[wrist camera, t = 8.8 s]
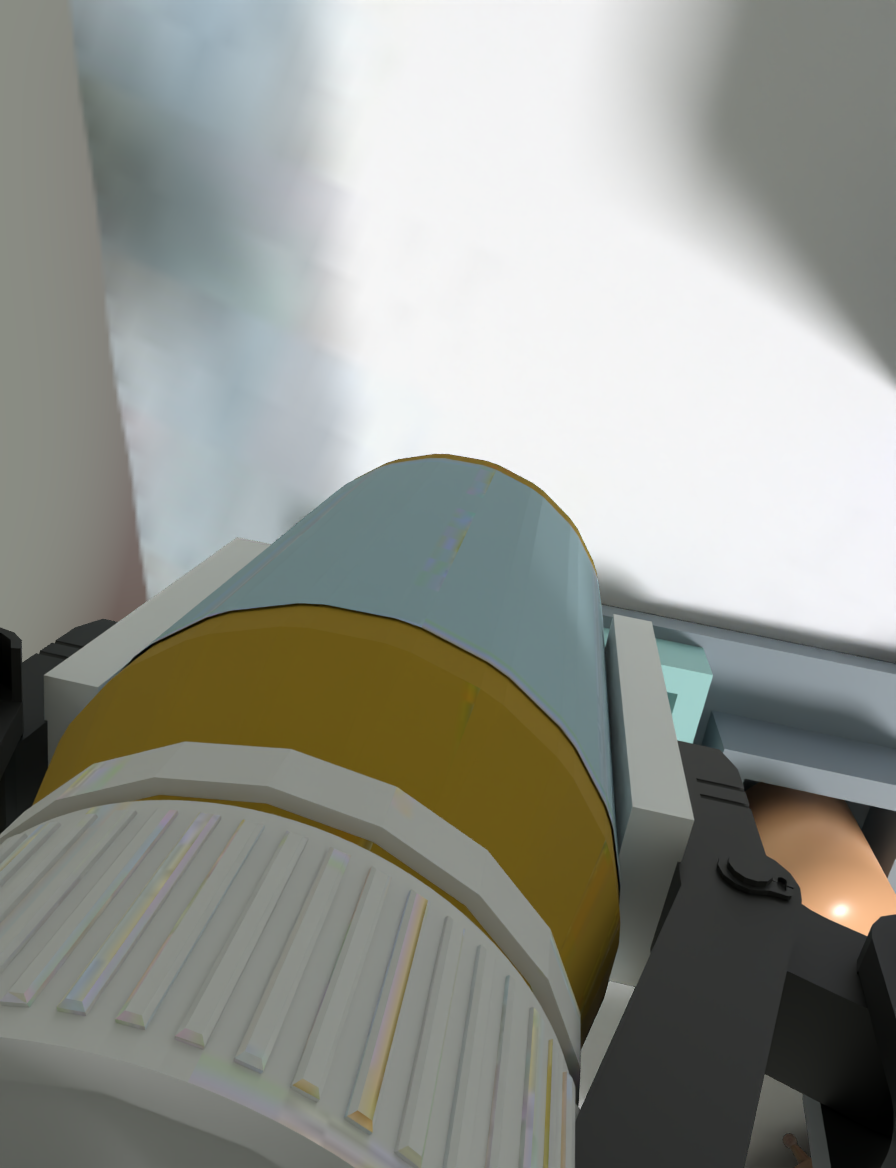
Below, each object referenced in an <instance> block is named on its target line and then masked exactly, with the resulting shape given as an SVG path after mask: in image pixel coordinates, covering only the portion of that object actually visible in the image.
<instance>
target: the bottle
mask: <svg viewBox="0 0 896 1168" xmlns="http://www.w3.org/2000/svg"><path fill="white" fill-rule="evenodd" d="M616 854H617V859H616ZM620 889H621V885H620V870H619V854H618V839H617V824H616V809H615V794H614V779H613V764H612V749H611V734H610V719H609V704H608V689H607V674H606V659H605V644H604V628H603V616H602V607H601V599H600V591H599V583H598V579H597V573H596V569H595V566H594V562H593V560H592V558H591V556H590V554H589V552H588V550H587V548H586V546H585V543H584V541H583V539H582V537H581V535H580V533H579V531H578V529H577V528H576V526H575V525H574V523H573V522H572V520H571V519H570V518H569V517H568V516H567V515H566V514H565V513H564V512H563V511H562V509H561V508H560V507H559V506H558V505H557V504H556V503H555V502H554V501H553V500H552V499H551V498H550V497H549V496H548V495H547V494H546V493H545V492H544V491H543V490H541V489H540V488H539V487H537V486H536V485H535V484H533V483H532V482H530V481H528V480H526V479H524V478H522V477H520V476H518V475H517V474H515V473H513V472H511V471H509V470H507V469H505V468H503V467H501V466H499V465H497V464H494V463H491V462H488V461H484V460H479V459H473V458H467V457H462V456H456V455H450V454H432V455H425V456H418V457H411V458H404V459H398V460H395V461H392V462H388V463H386V464H384V465H382V466H380V467H378V468H376V469H374V470H372V471H370V472H368V473H366V474H364V475H362V476H360V477H358V478H356V479H354V480H353V481H351V482H349V483H347V484H346V485H344V486H343V487H342V488H340V489H339V490H338V491H336V492H335V493H334V494H333V495H331V496H330V497H329V498H328V499H326V500H325V501H324V502H323V503H322V504H320V505H319V506H318V507H317V508H315V509H314V510H313V511H312V512H311V513H309V514H308V515H307V516H306V517H304V518H303V519H302V520H301V521H300V522H298V523H297V524H296V525H295V526H293V527H292V528H291V529H290V530H289V531H287V532H286V533H285V534H284V535H282V536H281V537H280V538H279V539H278V540H276V541H275V542H274V543H273V544H271V545H270V546H269V547H268V548H266V549H265V550H264V551H263V552H262V553H260V554H259V555H258V556H257V557H255V558H254V559H253V560H252V561H251V562H249V563H248V564H247V565H246V566H244V567H243V568H242V569H241V570H240V571H238V572H237V573H236V574H235V575H233V576H232V577H231V578H230V579H229V580H227V581H226V582H225V583H224V584H222V585H221V586H220V587H219V588H218V589H216V590H215V591H214V592H213V593H211V594H210V595H209V596H208V597H206V598H205V599H204V600H203V601H202V602H200V603H199V604H198V605H197V606H195V607H194V608H193V609H192V610H191V611H189V612H188V613H187V614H186V615H184V616H183V617H182V618H181V619H180V620H178V621H177V622H176V623H175V624H173V625H172V626H171V627H170V628H169V629H167V630H166V631H165V632H164V633H162V634H161V635H160V636H159V637H158V638H156V639H155V640H154V641H153V642H151V643H150V644H149V645H148V646H146V647H145V648H144V649H143V650H142V651H140V652H139V653H138V654H137V655H135V656H134V657H133V658H132V659H131V661H130V662H129V663H128V664H127V665H126V666H125V667H124V668H123V669H122V670H121V671H120V672H119V673H118V674H117V675H116V676H115V677H114V678H112V679H111V680H110V681H109V682H108V683H107V684H106V685H105V686H104V687H103V688H102V689H101V690H100V691H99V693H98V694H97V695H96V696H95V697H94V698H93V699H92V700H91V701H90V702H89V703H88V704H87V706H86V707H85V708H84V709H83V710H82V711H81V712H80V713H79V714H78V715H77V716H76V717H75V719H74V720H73V721H72V722H71V723H70V724H69V726H68V727H67V729H66V731H65V732H64V734H63V736H62V737H61V739H60V741H59V743H58V745H57V747H56V750H55V752H54V754H53V757H52V759H51V762H50V764H49V766H48V769H47V771H46V774H45V776H44V778H43V781H42V783H41V786H40V788H39V790H38V793H37V795H36V798H35V800H34V802H33V805H32V807H30V808H29V809H27V810H26V811H25V812H24V813H22V814H21V815H20V816H19V817H18V818H17V819H16V820H15V821H14V822H13V823H12V824H11V825H10V826H9V827H7V828H6V829H5V830H4V831H3V832H2V833H1V834H0V1168H575V1121H576V1118H577V1116H578V1114H579V1112H580V1109H579V1107H578V1103H579V1085H580V1051H581V1049H582V1046H583V1044H584V1042H585V1040H586V1037H587V1035H588V1033H589V1031H590V1028H591V1026H592V1024H593V1022H594V1019H595V1017H596V1015H597V1013H598V1010H599V1008H600V1006H601V1004H602V1001H603V999H604V996H605V993H606V989H607V985H608V982H609V978H610V975H611V971H612V967H613V964H614V960H615V957H616V953H617V950H618V946H619V937H620V907H619V904H620Z"/></svg>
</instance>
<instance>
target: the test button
mask: <svg viewBox="0 0 896 1168" xmlns="http://www.w3.org/2000/svg"><path fill="white" fill-rule="evenodd" d="M745 792H746V796H747V799H748V802H749V808H750V809H751V811H752V814H753V817H754V820H755V823H756V826H757V829H758V832H759V835H760V838H761V841H762V844H763V847H764V850H765V853H766V856H768V857H770V858H772V859H773V860H775V861H776V862H778V863H779V864H780V865H781V866H782V867H784V868H785V869H786V870H787V871H788V872H789V873H791V875H792V876H793V878H794V879H795V881H796V882H797V884H798V885H799V887H800V889H801V897H802V903H801V904H803V905H804V906H806V907H807V908H809V909H810V910H812V911H814V912H816V913H818V914H820V915H821V916H823V917H825V918H827V919H829V920H832V921H834V922H836V923H838V924H841V925H843V926H845V927H848V928H850V929H852V930H854V931H857V932H859V933H861V934H863V935H866V936H868V933H869V931H870V929H871V926H872V924H873V923H875V922H876V921H877V920H878V919H879V918H880V917H881V916H887V915H894V914H896V894H895V892H894V890H893V888H892V887H891V885H890V883H889V881H888V879H887V877H886V875H885V874H884V872H883V870H882V868H881V866H880V864H879V862H878V861H877V859H876V857H875V855H874V853H873V851H872V849H871V848H870V846H869V844H868V842H867V840H866V838H865V836H864V834H863V833H862V831H861V829H860V827H859V825H858V823H857V821H856V820H855V818H854V816H853V814H852V812H851V810H850V808H849V807H848V805H847V803H846V801H845V800H842V799H837V798H833V797H828V796H824V795H819V794H814V793H810V792H805V791H801V790H796V789H791V788H787V787H782V786H777V785H773V784H768V783H764V782H759V783H757V784H755V785H754V786H752V787H750V788H749V789H748V790H746V791H745Z"/></svg>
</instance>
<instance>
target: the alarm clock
mask: <svg viewBox="0 0 896 1168" xmlns="http://www.w3.org/2000/svg"><path fill="white" fill-rule="evenodd" d="M783 1143H784V1145H785V1146H786V1147H788V1148H790V1149H791V1150H792V1152H793V1154H794V1156H795V1158H796V1159H797V1161H798V1163H799V1164H798V1165H797V1166H795V1167H794V1168H813V1166H812V1159H811V1157H809V1156H808V1155H807V1154H806V1153H805V1152H804V1151H803V1150H802V1149H801V1148H800V1147H799V1146H798V1145H797V1140H796V1138H795V1136H794V1135H793V1134H786V1135H785V1136H784V1137H783Z"/></svg>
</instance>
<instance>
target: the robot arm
mask: <svg viewBox="0 0 896 1168" xmlns="http://www.w3.org/2000/svg"><path fill="white" fill-rule="evenodd" d="M270 545H271V544H267V543H262V542H258V541H253V540H248V539H243V538H238V537H237V538H235V539H234V540H233V541H231V542H230V543H228V544H227V545H226V546H224V547H223V548H221V549H220V550H219V551H217V552H216V553H214V554H213V555H212V556H210V557H209V558H207V559H206V560H205V561H203V562H202V563H200V564H199V565H198V566H196V567H195V568H193V569H192V570H191V571H189V572H188V573H186V574H185V575H184V576H182V577H181V578H179V579H178V580H176V581H175V582H174V583H172V584H171V585H169V586H168V587H167V588H165V589H164V590H162V591H161V592H160V593H158V594H157V595H155V596H154V597H153V598H151V599H150V600H148V601H147V602H146V603H144V604H143V605H141V606H140V607H139V608H137V609H136V610H134V611H133V612H132V613H130V614H129V615H128V616H126V617H125V618H123V619H122V620H121V621H119V622H115V621H111V620H106V619H101V620H98V621H94V622H91V623H88V624H85V625H82V626H78V627H75V628H74V629H72V630H71V631H69V632H68V633H66V634H65V635H63V636H62V637H60V638H59V639H57V640H56V642H55V643H51V644H50V645H48V646H47V647H45V648H44V649H42V650H40V653H39V654H37V653H36V654H35V655H33V656H31V657H30V658H29V659H27V660H25V661H24V662H22V642H21V641H22V640H21V639H20V638H19V637H18V636H17V635H16V634H15V633H14V632H11V631H8V630H5V629H3V628H0V834H1V833H2V832H3V831H4V830H5V829H6V828H7V827H9V826H10V825H11V824H12V823H13V822H14V821H15V820H16V819H17V818H18V817H19V816H20V815H21V814H22V813H24V812H25V811H26V810H27V809H29V808H30V807H32V805H33V802H34V800H35V798H36V795H37V793H38V790H39V788H40V786H41V783H42V781H43V778H44V776H45V774H46V771H47V769H48V766H49V764H50V762H51V759H52V757H53V754H54V752H55V750H56V747H57V745H58V743H59V741H60V739H61V737H62V736H63V734H64V732H65V731H66V729H67V727H68V726H69V724H70V723H71V722H72V721H73V720H74V719H75V717H76V716H77V715H78V714H79V713H80V712H81V711H82V710H83V709H84V708H85V707H86V706H87V704H88V703H89V702H90V701H91V700H92V699H93V698H94V697H95V696H96V695H97V694H98V693H99V691H100V690H101V689H102V688H103V687H104V686H105V685H106V684H107V683H108V682H109V681H110V680H111V679H112V678H114V677H115V676H116V675H117V674H118V673H119V672H120V671H121V670H122V669H123V668H124V667H125V666H126V665H127V664H128V663H129V662H130V661H131V659H132V658H133V657H134V656H135V655H137V654H138V653H139V652H140V651H142V650H143V649H144V648H145V647H146V646H148V645H149V644H150V643H151V642H153V641H154V640H155V639H156V638H158V637H159V636H160V635H161V634H162V633H164V632H165V631H166V630H167V629H169V628H170V627H171V626H172V625H173V624H175V623H176V622H177V621H178V620H180V619H181V618H182V617H183V616H184V615H186V614H187V613H188V612H189V611H191V610H192V609H193V608H194V607H195V606H197V605H198V604H199V603H200V602H202V601H203V600H204V599H205V598H206V597H208V596H209V595H210V594H211V593H213V592H214V591H215V590H216V589H218V588H219V587H220V586H221V585H222V584H224V583H225V582H226V581H227V580H229V579H230V578H231V577H232V576H233V575H235V574H236V573H237V572H238V571H240V570H241V569H242V568H243V567H244V566H246V565H247V564H248V563H249V562H251V561H252V560H253V559H254V558H255V557H257V556H258V555H259V554H260V553H262V552H263V551H264V550H265V549H266V548H268V547H269V546H270ZM605 659H606V674H607V689H608V704H609V719H610V734H611V749H612V764H613V779H614V794H615V809H616V824H617V839H618V854H619V870H620V885H621V889H620V904H619V907H620V937H619V946H618V950H617V953H616V957H615V960H614V964H613V967H612V971H611V975H610V978H609V981H613V982H617V983H621V984H625V985H629V986H633V987H635V989H634V992H633V994H632V996H631V998H630V1000H629V1003H628V1005H627V1007H626V1009H625V1012H624V1014H623V1016H622V1018H621V1020H620V1023H619V1025H618V1027H617V1029H616V1032H615V1034H614V1036H613V1038H612V1040H611V1043H610V1045H609V1047H608V1049H607V1052H606V1054H605V1056H604V1058H603V1061H602V1063H601V1065H600V1067H599V1069H598V1072H597V1074H596V1076H595V1078H594V1081H593V1083H592V1085H591V1087H590V1089H589V1092H588V1094H587V1096H586V1098H585V1101H584V1103H583V1105H582V1107H581V1109H580V1112H579V1114H578V1116H577V1118H576V1121H575V1168H744V1166H745V1161H746V1156H747V1152H748V1147H749V1143H750V1138H751V1133H752V1129H753V1124H754V1120H755V1115H756V1110H757V1106H758V1101H759V1097H760V1092H761V1087H762V1083H763V1078H764V1074H766V1075H768V1076H770V1077H772V1078H774V1079H776V1080H778V1081H780V1082H781V1083H783V1084H785V1085H787V1086H789V1087H791V1088H793V1089H795V1090H797V1091H799V1092H800V1093H802V1094H803V1105H804V1112H805V1118H806V1125H807V1132H808V1139H809V1146H810V1152H811V1159H812V1166H813V1168H896V914H894V915H887V916H881V917H880V918H879V919H878V920H877V921H876V922H875V923H873V924H872V926H871V929H870V931H869V933H868V936H866V935H863V934H861V933H859V932H857V931H854V930H852V929H850V928H848V927H845V926H843V925H841V924H838V923H836V922H834V921H832V920H829V919H827V918H825V917H823V916H821V915H820V914H818V913H816V912H814V911H812V910H810V909H809V908H807V907H806V906H804V905H803V904H801V903H802V897H801V889H800V887H799V885H798V884H797V882H796V881H795V879H794V878H793V876H792V875H791V873H789V872H788V871H787V870H786V869H785V868H784V867H782V866H781V865H780V864H779V863H778V862H776V861H775V860H773V859H772V858H770V857H768V856H766V853H765V850H764V847H763V844H762V841H761V838H760V835H759V832H758V829H757V826H756V823H755V820H754V817H753V814H752V811H751V809H750V808H749V802H748V799H747V796H746V792H744V786H743V783H742V780H741V777H740V774H739V771H738V769H737V768H736V767H735V766H734V764H733V763H732V762H731V761H730V760H729V759H728V758H727V757H726V756H725V755H724V754H723V753H722V752H721V750H720V749H715V748H711V747H706V746H702V745H697V744H692V743H688V742H683V741H678V740H677V737H676V732H675V728H674V723H673V718H672V714H671V709H670V704H669V700H668V695H667V690H666V686H665V681H664V676H663V672H662V667H661V662H660V658H659V653H658V648H657V644H656V639H655V634H654V630H653V625H652V622H651V621H646V620H641V619H636V618H631V617H626V616H621V615H616V614H613V617H612V621H611V625H610V629H609V633H608V638H607V642H606V646H605ZM616 859H617V854H616Z"/></svg>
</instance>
